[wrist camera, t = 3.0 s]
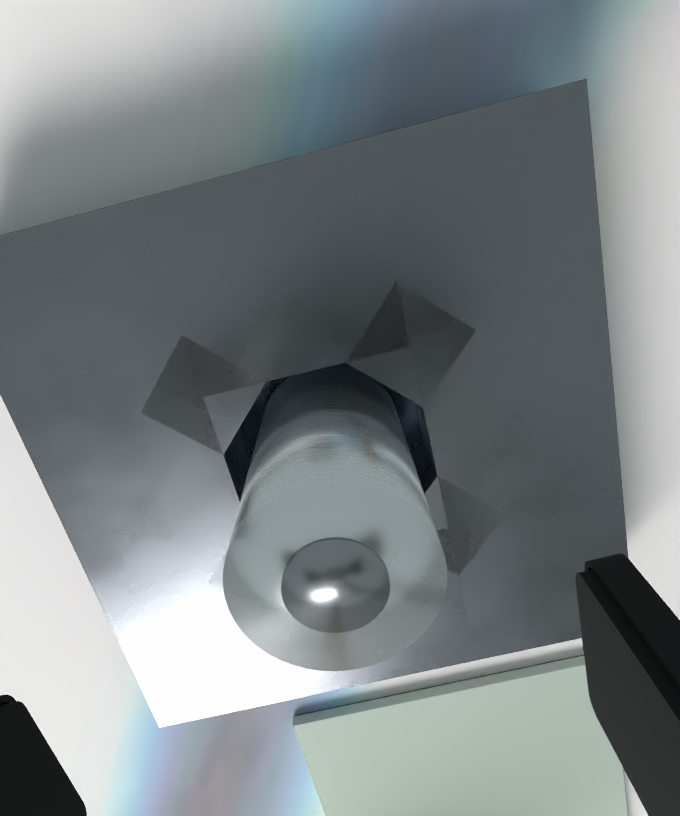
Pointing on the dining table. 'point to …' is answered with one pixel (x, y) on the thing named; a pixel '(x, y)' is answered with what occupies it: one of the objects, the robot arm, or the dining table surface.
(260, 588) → the aluminium plug
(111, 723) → the dining table surface
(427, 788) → the sage mat
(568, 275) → the plate
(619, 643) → the robot arm
